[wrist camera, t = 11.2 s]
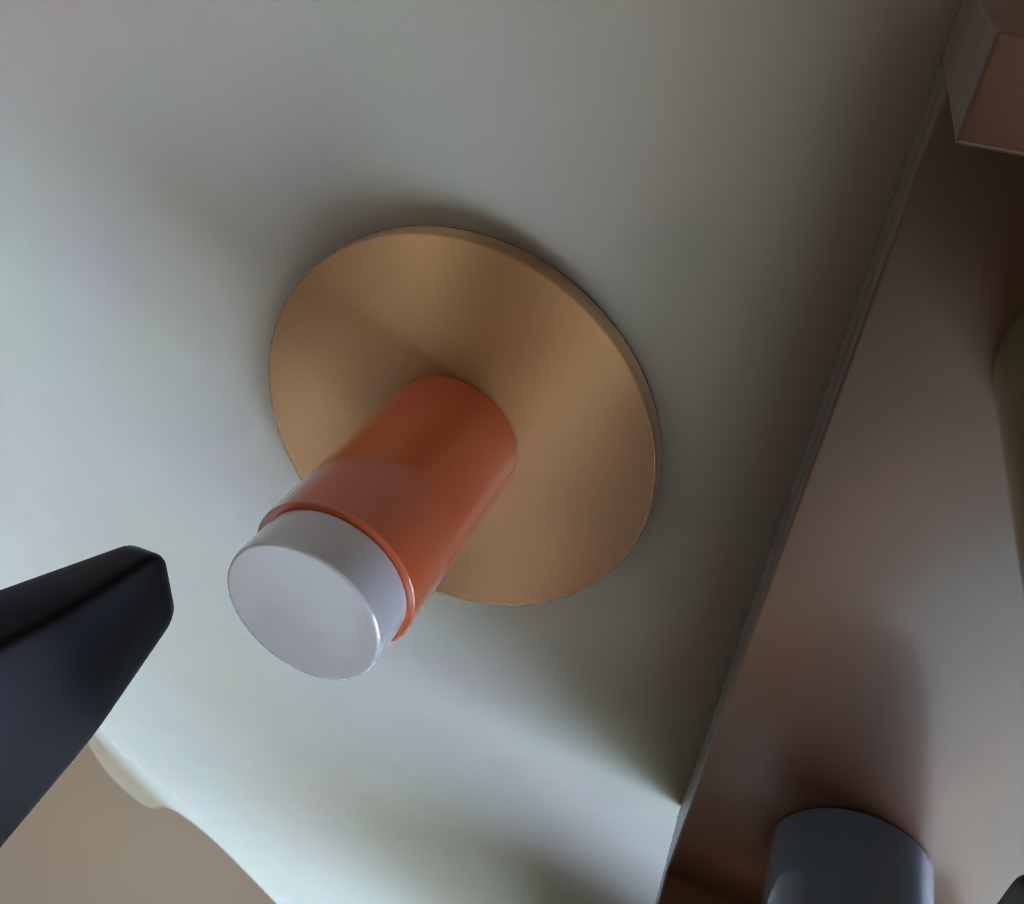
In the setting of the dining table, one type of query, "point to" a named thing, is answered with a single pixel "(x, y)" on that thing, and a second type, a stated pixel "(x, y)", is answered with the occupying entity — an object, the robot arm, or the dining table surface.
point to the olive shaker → (1012, 423)
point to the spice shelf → (896, 539)
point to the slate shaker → (844, 861)
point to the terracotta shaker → (374, 528)
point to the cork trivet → (495, 372)
